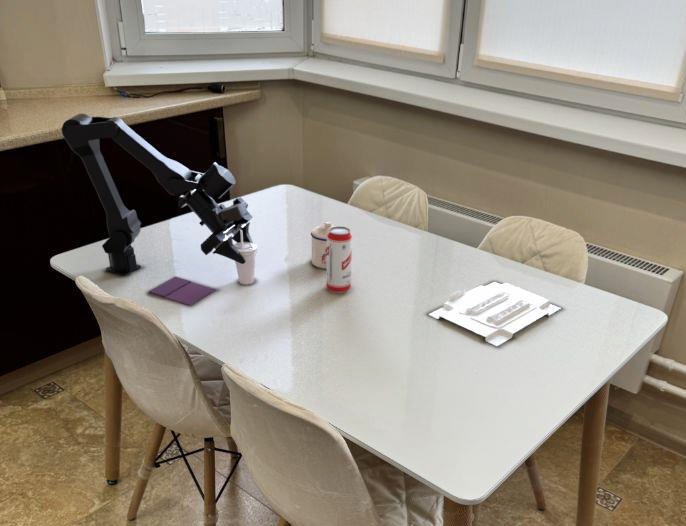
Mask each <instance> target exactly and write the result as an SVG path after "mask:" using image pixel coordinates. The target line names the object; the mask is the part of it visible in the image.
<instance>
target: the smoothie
mask: <svg viewBox="0 0 686 526" xmlns="http://www.w3.org/2000/svg"><path fill="white" fill-rule="evenodd" d="M240 236H241V242H240V243H237V242H235V243H233V245H234V246H235V247H236V249H237V250H238V251H239V253H240V254H241V255H242V257H243V258H244V260H245V261H246V262H245V263H244V264H241V263H239V262H236V261H234V262H235V266H236V273H237V277H238V281H239V283H240V284H241V285H252V284H253V283H254V281H255V269H256V258H257V253H258V245H257V244H256V243H254V242H253V243H251V242H243V232H242V230H240ZM256 252H257V253H256Z"/></svg>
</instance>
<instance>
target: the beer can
mask: <svg viewBox="0 0 686 526" xmlns="http://www.w3.org/2000/svg"><path fill="white" fill-rule="evenodd" d="M329 231H330V232H329V234H328V235H327V269H326V271H325V272H326V277H325V279H326V280H325V281H326V283H325V285H326V288H327V290H328V291H329V292H331V293H333V294H345V293H347V292H348V291H349V290H350V289H351V286H352V260H353V259H352V258H353V255H352V254H353V235H352V234H351V229H350V228H348V227H345V226H340V225H339V226H335V227H332V228H330V230H329Z"/></svg>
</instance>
